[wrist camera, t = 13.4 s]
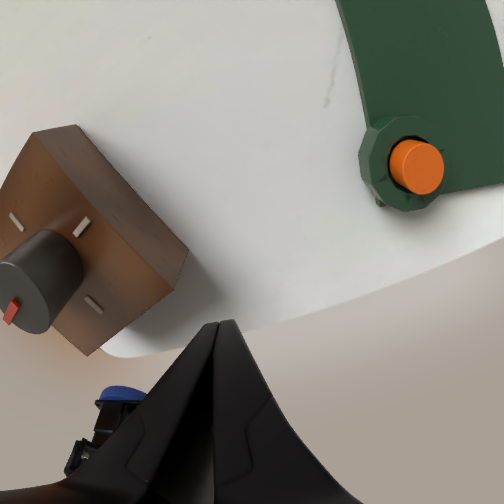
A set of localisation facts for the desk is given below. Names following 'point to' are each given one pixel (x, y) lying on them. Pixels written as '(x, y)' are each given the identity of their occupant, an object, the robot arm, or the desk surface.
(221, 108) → the desk surface
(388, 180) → the green flat plate
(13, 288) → the knob
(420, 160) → the button
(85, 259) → the panel
